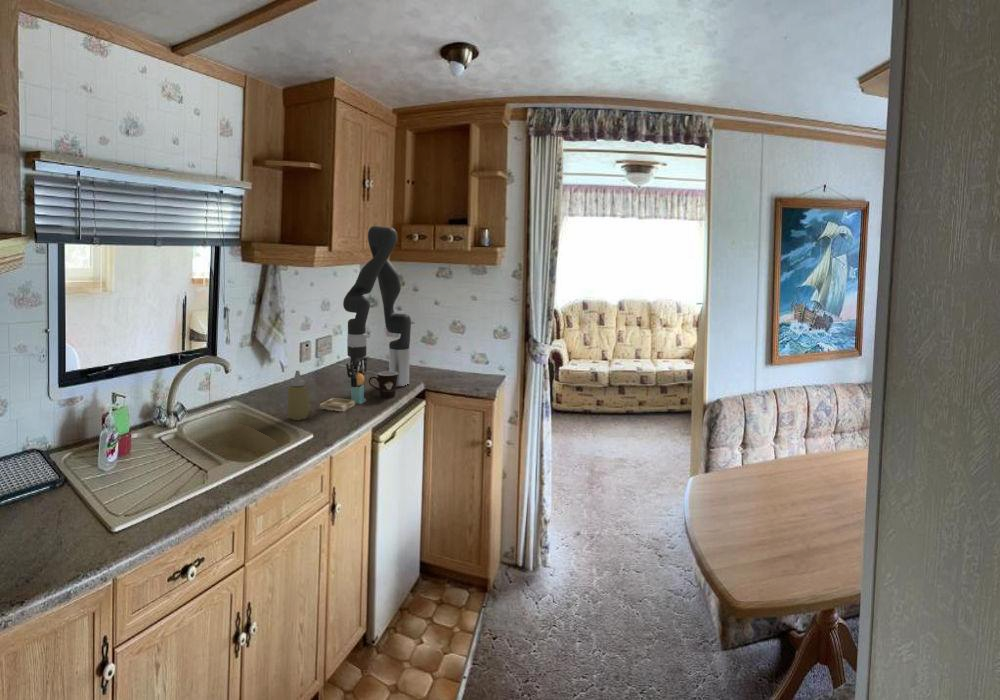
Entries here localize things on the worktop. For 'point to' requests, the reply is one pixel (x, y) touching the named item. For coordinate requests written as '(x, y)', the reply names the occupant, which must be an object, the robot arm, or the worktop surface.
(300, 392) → the squeeze bottle
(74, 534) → the worktop surface
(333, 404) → the tray
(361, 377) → the ball
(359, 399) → the teal box
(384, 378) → the coffee mug
